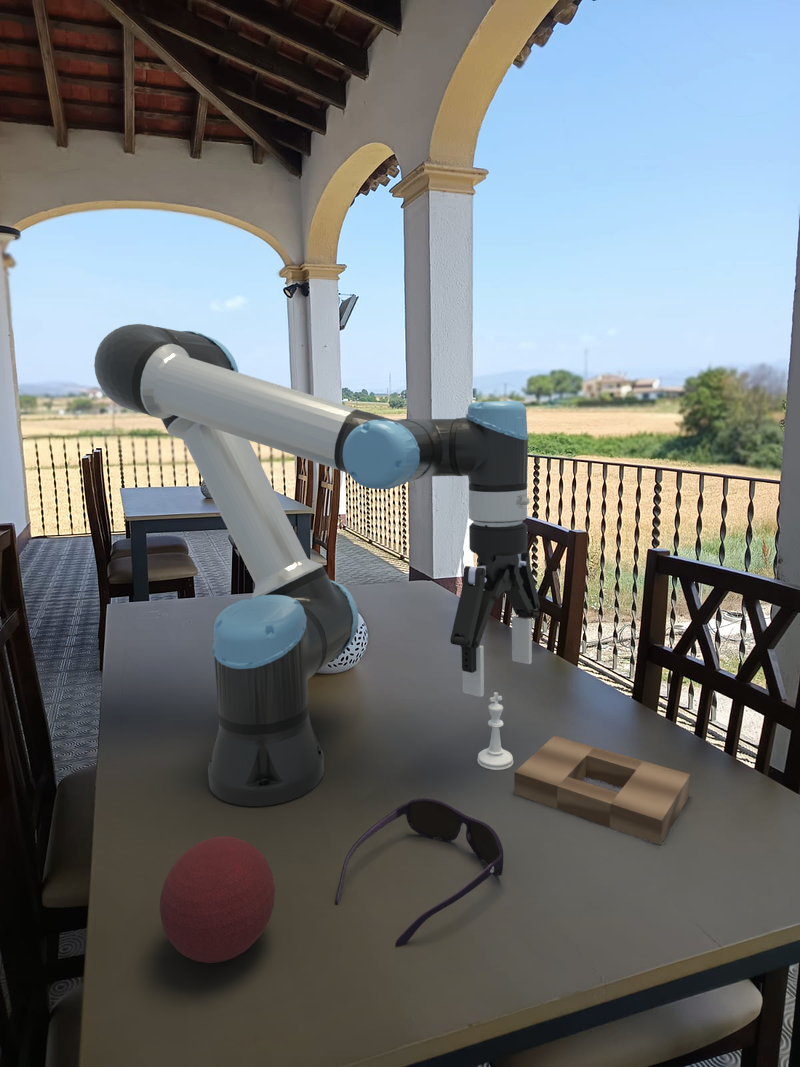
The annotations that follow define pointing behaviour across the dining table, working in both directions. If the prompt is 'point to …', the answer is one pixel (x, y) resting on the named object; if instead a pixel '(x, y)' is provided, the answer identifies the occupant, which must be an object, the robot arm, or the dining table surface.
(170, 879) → the decorative ball
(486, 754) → the chess piece
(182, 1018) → the dining table surface
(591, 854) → the dining table surface
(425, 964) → the dining table surface
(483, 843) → the sunglasses
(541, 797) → the socket plate
